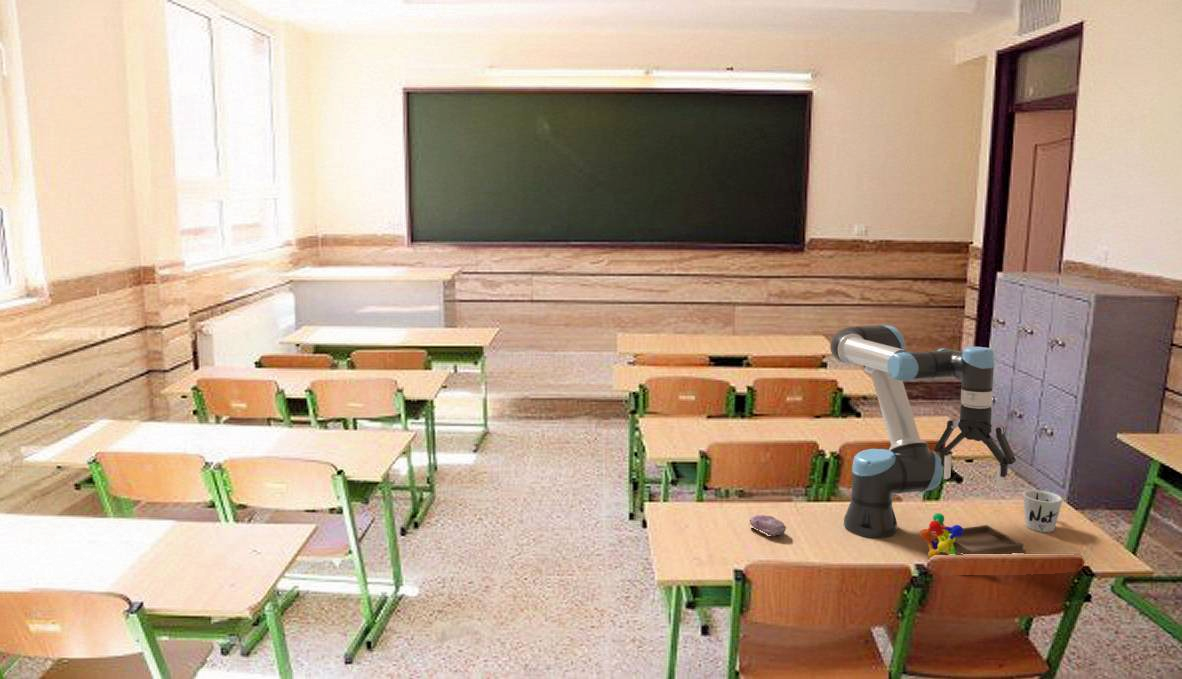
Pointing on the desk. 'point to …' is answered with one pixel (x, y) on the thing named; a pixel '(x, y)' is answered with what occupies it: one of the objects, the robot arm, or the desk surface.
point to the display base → (985, 542)
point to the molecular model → (940, 536)
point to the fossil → (768, 525)
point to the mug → (1041, 510)
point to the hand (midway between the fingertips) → (972, 483)
